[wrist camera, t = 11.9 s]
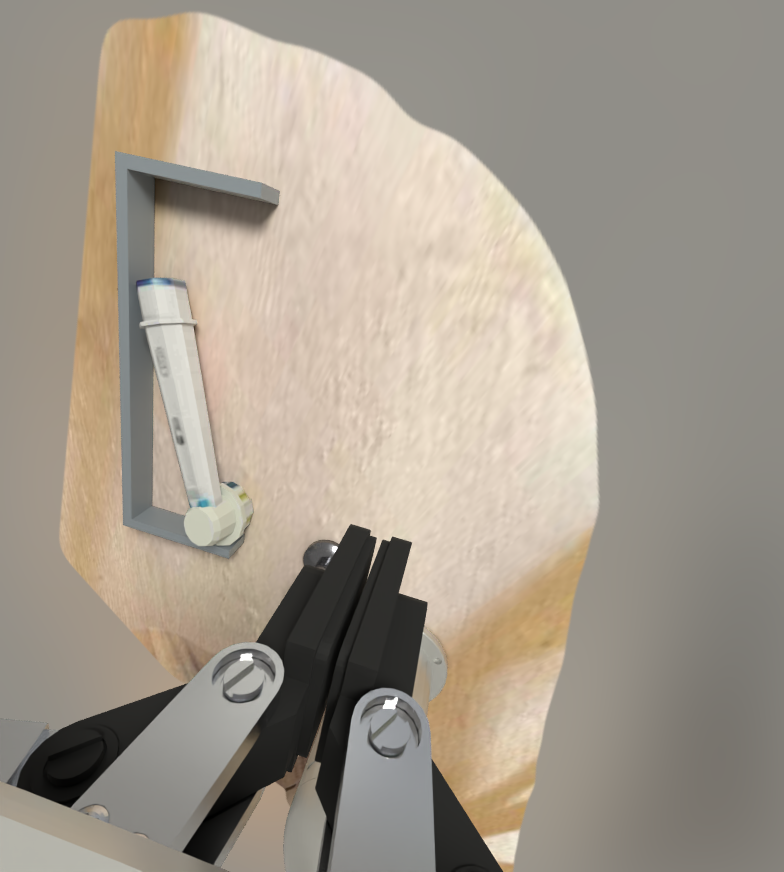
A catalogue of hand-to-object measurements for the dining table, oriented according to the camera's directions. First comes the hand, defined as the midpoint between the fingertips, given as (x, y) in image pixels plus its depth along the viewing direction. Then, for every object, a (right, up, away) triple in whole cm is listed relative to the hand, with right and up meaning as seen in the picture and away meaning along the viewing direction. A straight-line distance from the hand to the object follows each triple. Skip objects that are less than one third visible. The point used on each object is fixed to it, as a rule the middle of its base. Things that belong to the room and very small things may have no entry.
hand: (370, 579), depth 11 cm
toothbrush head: (-17, +6, +31) cm, 36 cm away
